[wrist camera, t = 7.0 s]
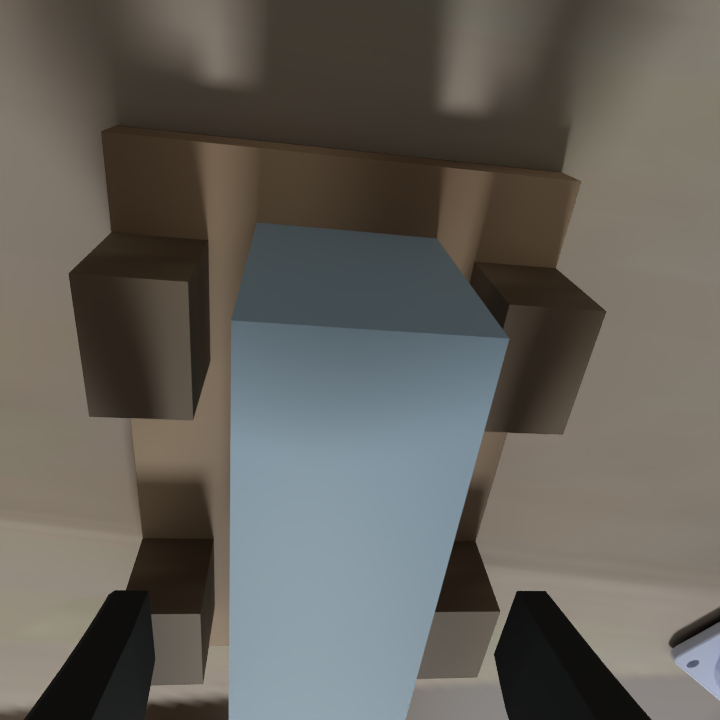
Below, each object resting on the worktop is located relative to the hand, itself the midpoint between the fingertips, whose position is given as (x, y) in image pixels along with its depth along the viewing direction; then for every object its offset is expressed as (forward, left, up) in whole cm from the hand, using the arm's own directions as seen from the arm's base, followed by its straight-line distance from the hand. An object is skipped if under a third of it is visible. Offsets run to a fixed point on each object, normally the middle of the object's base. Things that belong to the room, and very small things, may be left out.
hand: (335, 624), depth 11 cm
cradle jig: (0, 0, -6) cm, 6 cm away
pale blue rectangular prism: (0, 0, -5) cm, 5 cm away
